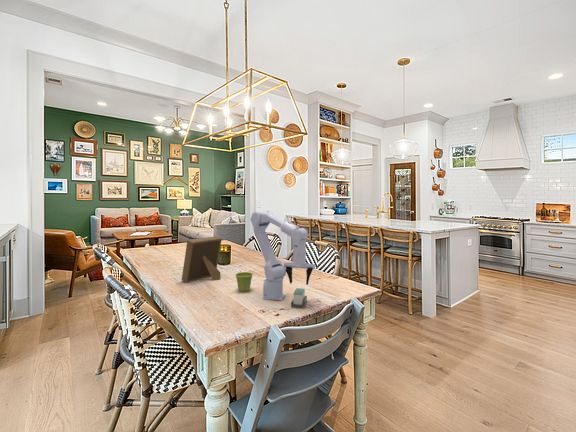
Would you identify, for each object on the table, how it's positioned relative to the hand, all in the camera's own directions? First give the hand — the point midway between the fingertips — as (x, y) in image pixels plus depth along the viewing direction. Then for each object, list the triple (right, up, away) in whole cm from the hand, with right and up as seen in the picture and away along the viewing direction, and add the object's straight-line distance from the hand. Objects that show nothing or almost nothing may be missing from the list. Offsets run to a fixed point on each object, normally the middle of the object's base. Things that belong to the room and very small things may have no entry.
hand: (299, 283), depth 138 cm
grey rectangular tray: (0, -10, +1) cm, 10 cm away
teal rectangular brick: (0, -9, +1) cm, 9 cm away
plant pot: (-28, -9, +21) cm, 36 cm away
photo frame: (-55, -7, +41) cm, 69 cm away
